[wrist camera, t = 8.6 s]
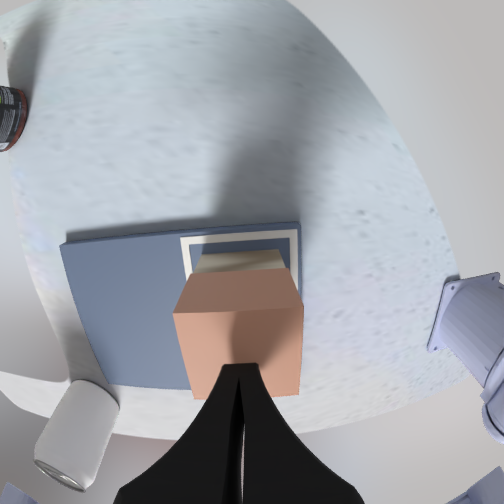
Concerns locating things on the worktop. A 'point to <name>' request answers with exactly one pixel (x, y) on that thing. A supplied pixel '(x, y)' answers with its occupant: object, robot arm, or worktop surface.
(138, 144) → the worktop surface
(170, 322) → the board
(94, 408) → the can
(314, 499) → the robot arm
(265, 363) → the terracotta block
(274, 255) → the cream block
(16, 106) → the supplement bottle
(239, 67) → the worktop surface
